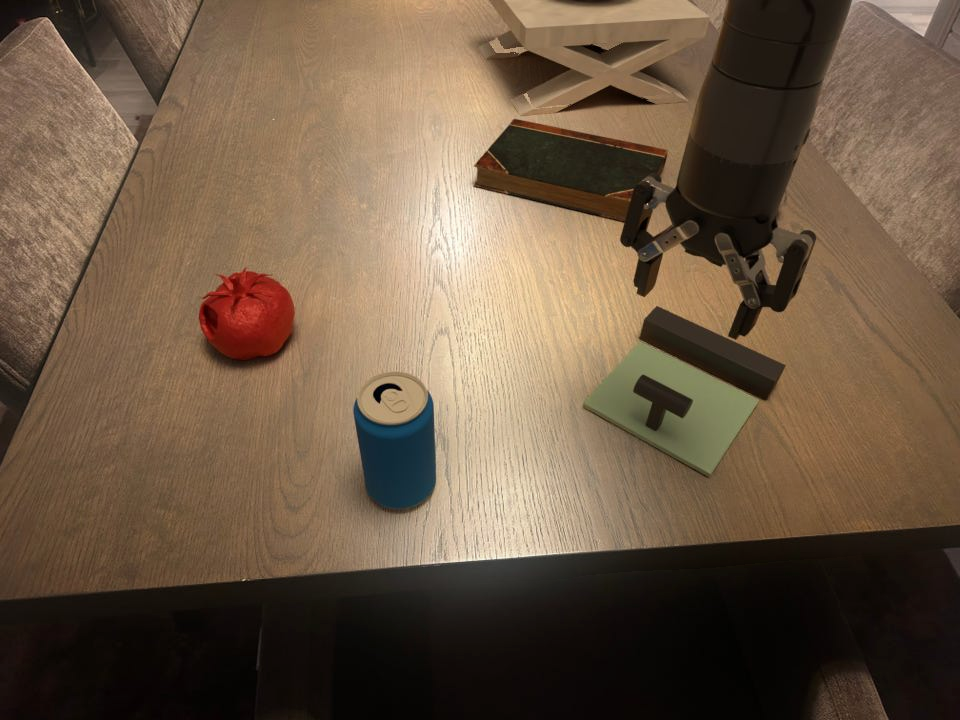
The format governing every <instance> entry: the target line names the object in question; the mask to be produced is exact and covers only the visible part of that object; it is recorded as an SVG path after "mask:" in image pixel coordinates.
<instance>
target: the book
mask: <svg viewBox="0 0 960 720" xmlns="http://www.w3.org/2000/svg"><path fill="white" fill-rule="evenodd" d="M668 152H669V150H668V149H666V148H661V147H656V146H651V145H647V144H640V143H636V142H631V141H628V140H627V141H626V140H623V139H622V140H621V139H616V138H611V137H606V136H601V135H598V134H597V135H596V134H591V133H588V132H581V131H577V130H573V129H572V130H571V129H567V128H562V127H557V126H553V125H548V124H542V123H537V122H532V121H529V120H523V119H519V118H513V119H512V120H511V121H510V123H509V124H508V125H507V127H505V129H504V130H503V131H502V133H500V134H499V136H498V137H497V138H496V139H495V140H494V141H493V143H492V144H491V145H490V146H489V147H488V149H487V150H486V151H485V152H484V153H483V154H482V156H480V157H479V158H478V160H477V161H476V163H475V164H474V165H473V167H474V168H476V181H475V183H474V184H473V186H474V187H477V188H481V189H485V190H490V191H495V192H497V193H498V192H499V193H503V194H507V195H511V196H515V197H520V198H522V199H523V198H524V199H526V200H531V201H535V202H540V203H543V204H544V203H545V204H547V205H553V206H556V207H561V208H564V209H570V210H573V211H578V212H582V213H586V214H590V215H594V216H595V215H596V216H599V217H603V218H607V219H612V220H615V221H621V222H625V219H626V215H627V211H628V208H629V204H630V200H631V197H632V193H633V189H634V187H635V186H636V185H637V184H638V183H640V182H641V181H642V180H643V179H645V178H646V177H647V176H648V175H650V174H651V173H657V174H658V175H659V176H660V177H661V176H662V174H663V172H664V170H665V166H666V162H667V157H668Z"/></svg>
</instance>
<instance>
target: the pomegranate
mask: <svg viewBox="0 0 960 720" xmlns="http://www.w3.org/2000/svg"><path fill="white" fill-rule="evenodd" d="M247 269H248V266H246V267H244V268H243V269H242V272H233V273H232V274H230V275H229V276H225V275H222V274H218V273H215V275H216V276H217V277H220V279H221V281H222V283H221V284H220V285H218V287H216V289H215V291H209V292H208V293H206V295H205V296H202V297H200V299H201V300H203V301H202V303H201V304H200V307H199V312H198V322H199V325H200V329H201V332H202V333H203V336H204V337H205V339H206V340H207V341H208V343H209V344H211V345H212V346H213V347H214V348H215V349H216V350H217V351H218V352H220V353H221V354H223V355H224V356H226V357H228V358H230V359H236V360H243V361H245V360H246V361H247V360H250V359H254V358H256V357H268V356H271V355H274V354H276V353H277V352H278V351H280V349H281V348H282V347H283V346H284V344H285V342H286V341H287V340H288V338H289V337H290V336H291V334H292V332H293V328H294V321H295V316H296V310H295V309H296V308H295V304H294V300H293V298H292V295H291V294H290V292H289V290H288V289H287V288H286V287H285V286H283V285H282V284H281V282H280V281H278V280H276V279H274V278H272V277H269V276H274V275H275V273H273V274H268V273H257V272H256V271H250V270H247Z"/></svg>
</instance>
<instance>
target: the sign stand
mask: <svg viewBox="0 0 960 720" xmlns="http://www.w3.org/2000/svg"><path fill="white" fill-rule="evenodd" d="M639 339H640V341H643V342H644V343H645V342H646V343H648V345H650V346H653V347H655V348H657V349H660V350H661V351H664V352H666V353H668V354H670V355H671V356H674V357H676V358H677V359H680V360H682V361H683V362H686V363H687V364H689V365H691V366H694V367H695V368H697V369H701V370H703V371H704V372H707V373H708V374H711V375H713V376H715V377H717V378H719V379H721V380H722V381H724V382H727V383H728V384H731V385H733V386H735V387H737V388H740V390H743V391H744V392H747V393H750V395H751V394H752V395H754V396H756V397H758V398H759V399H761V400H764V401H767V400H768V399H769V397H770V395H771V394H772V392H773V391H774V389H775V388H776V386H777V384H778V383H779V381H780V378H781V377H782V374H783V372H784V370H785V368H786V364H784V363H782V362H780V361H777V360H775V359H773V358H771V357H769V356H767V355H765V354H762V353H760V352H758V351H757V350H753V349H751V348H750V347H747V346H745V345H743V344H742V343H741V344H740V343H739V342H736V341H735V340H732V339H731V338H729V337H725V336H723V335H722V334H719V333H717V332H714V331H713V330H710V329H708V328H706V327H704V326H701V325H700V324H698V323H695V322H693V321H691V320H689V319H687V318H684V317H682V316H680V315H678V314H675V313H673V312H671V311H669V310H668V309H665V308H663V307H660V306H658V305H656V306H655V307H654V308H653V309H652V310H651V311H650V312H649V314H647V316H645V318H643V323H642V327H641V330H640V334H639Z"/></svg>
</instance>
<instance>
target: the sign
mask: <svg viewBox="0 0 960 720" xmlns="http://www.w3.org/2000/svg"><path fill="white" fill-rule="evenodd" d="M759 403H760V398H756V397H755V396H752V395H751V394H748V392H747V393H746V392H745V391H742V390H741V389H738V388H736V387H734V386H732V385H730V384H729V383H726V382H725V381H723V380H720V379H718V378H716V377H714V376H712V375H710V374H709V373H705V371H702V370H699V368H697V367H695V366H694V367H693V365H691V364H689V363H685V362H684V361H681V360H679V359H678V358H675V357H673V356H672V355H669V354H667V353H665V352H663V351H662V350H659V349H658V348H656V347H655V348H654V346H652V345H650V344H646V343H645V342H644V341H643V342H642V340H639V341H638V342H637V344H636V345H635V346H634V347H633V348H632V349H631V350H630V351H629V352H628V353H627V354H626V355H625V356H624V358H622V360H621V361H620V362H619V363H618V364H617V365H616V366H615V367H614V368H613V369H612V371H611V372H610V373H609V374H608V375H607V376H606V377H605V378H604V380H602V382H601V383H600V384H599V385H598V386H597V387H596V388H595V389H594V391H593V392H592V393H591V394H590V395H589V396H588V397H587V399H585V400H584V401H583V403H582V407H583V408H584V409H586V410H588V411H589V412H592V413H594V414H595V415H597V416H599V417H601V418H602V419H603V420H606V421H608V422H609V423H611V424H613V425H615V426H616V427H619V428H620V429H622V430H624V431H625V432H628V433H629V434H631V435H632V436H634V437H636V438H638V439H639V440H642V441H643V442H645V443H647V444H649V445H651V447H654V448H656V449H657V450H660V451H661V452H663V453H665V454H666V455H668V456H670V457H672V458H673V459H675V460H677V461H678V462H681V463H683V464H684V465H686V466H688V467H690V468H691V469H693V470H695V471H696V472H699V473H700V474H702V475H705V476H706V477H708V478H710V477H711V476H712V474H713V473H714V471H715V470H716V468H717V467H718V465H719V464H720V462H721V460H723V458H724V456H725V455H726V453H727V452H728V450H729V449H730V447H731V445H732V444H733V443H734V441H735V439H736V438H737V436H738V435H739V433H740V432H741V430H742V429H743V428H744V426H745V424H746V423H747V421H748V420H749V418H750V417H751V415H752V414H753V412H754V410H755V409H756V407H757V406H758V405H759Z"/></svg>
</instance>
